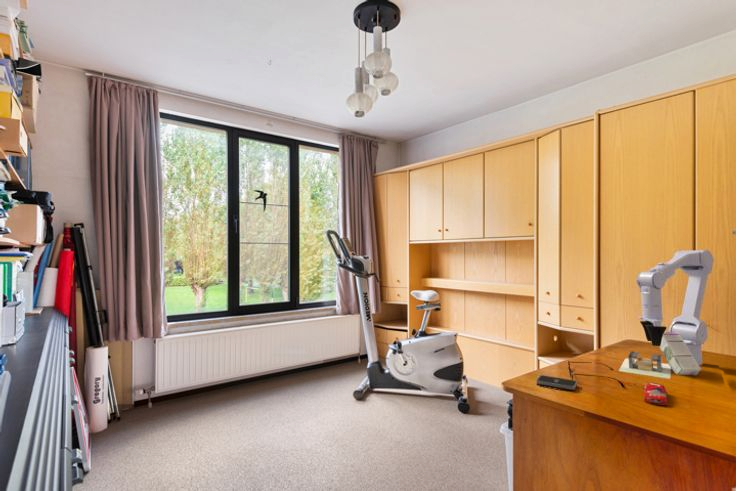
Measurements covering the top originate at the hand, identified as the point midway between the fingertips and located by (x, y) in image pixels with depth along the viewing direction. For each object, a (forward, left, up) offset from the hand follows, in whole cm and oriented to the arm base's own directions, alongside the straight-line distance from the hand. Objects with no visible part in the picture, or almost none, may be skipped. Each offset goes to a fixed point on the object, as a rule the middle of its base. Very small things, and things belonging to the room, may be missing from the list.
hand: (653, 343), depth 131 cm
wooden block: (+3, -3, -9) cm, 10 cm away
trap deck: (+1, -3, -10) cm, 11 cm away
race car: (+30, +1, -11) cm, 32 cm away
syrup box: (+4, +9, -8) cm, 13 cm away
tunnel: (+2, -3, -9) cm, 9 cm away
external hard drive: (+36, -24, -11) cm, 44 cm away
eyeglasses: (+20, -16, -11) cm, 28 cm away
